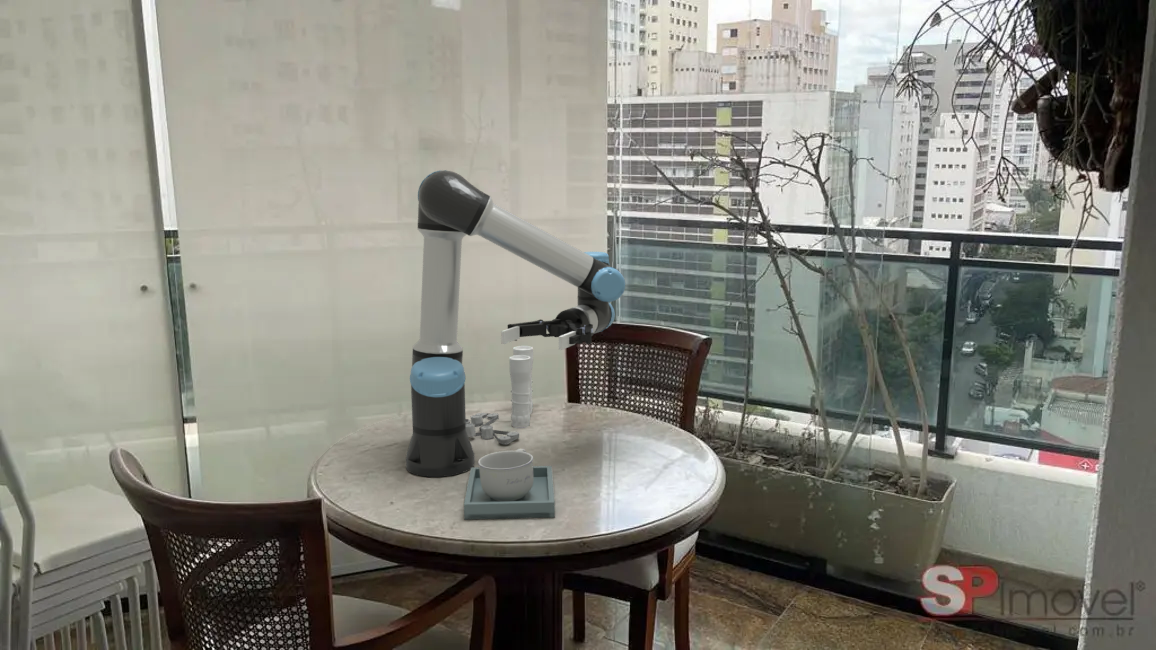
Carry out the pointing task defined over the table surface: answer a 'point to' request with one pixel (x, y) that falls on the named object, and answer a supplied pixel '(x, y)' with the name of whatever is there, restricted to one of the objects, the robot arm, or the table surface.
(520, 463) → the teacup
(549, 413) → the table surface
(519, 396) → the binoculars
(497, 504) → the tray
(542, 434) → the table surface
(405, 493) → the table surface
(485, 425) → the pulley system
